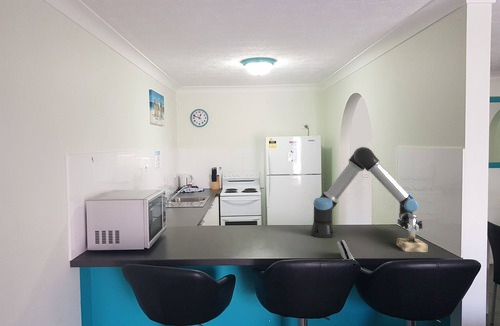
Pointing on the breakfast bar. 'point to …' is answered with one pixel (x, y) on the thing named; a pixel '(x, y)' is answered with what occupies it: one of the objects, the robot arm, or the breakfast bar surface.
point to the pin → (412, 227)
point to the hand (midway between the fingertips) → (413, 228)
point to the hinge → (344, 250)
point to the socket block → (412, 245)
